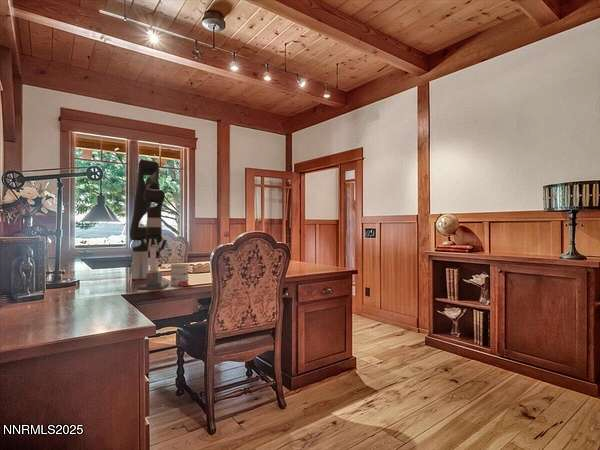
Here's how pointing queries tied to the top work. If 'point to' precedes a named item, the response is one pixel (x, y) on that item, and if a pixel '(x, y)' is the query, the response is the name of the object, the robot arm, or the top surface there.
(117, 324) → the top surface
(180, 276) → the ink box
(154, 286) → the jack base
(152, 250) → the column
